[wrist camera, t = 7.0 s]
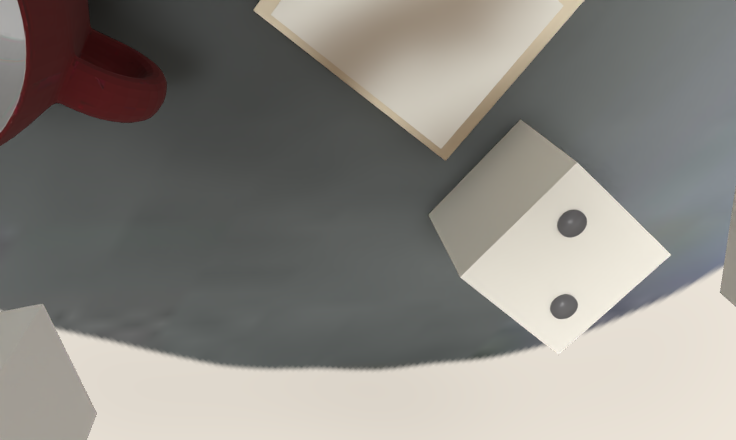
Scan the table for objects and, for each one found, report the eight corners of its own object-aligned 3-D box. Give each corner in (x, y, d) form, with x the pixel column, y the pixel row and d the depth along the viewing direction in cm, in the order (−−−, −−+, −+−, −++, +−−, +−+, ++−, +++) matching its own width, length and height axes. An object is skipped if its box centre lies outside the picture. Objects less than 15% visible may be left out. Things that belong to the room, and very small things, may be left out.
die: (427, 213, 29) (461, 278, 23) (519, 118, 27) (578, 163, 22) (511, 282, 31) (559, 356, 25) (600, 197, 29) (672, 256, 24)
